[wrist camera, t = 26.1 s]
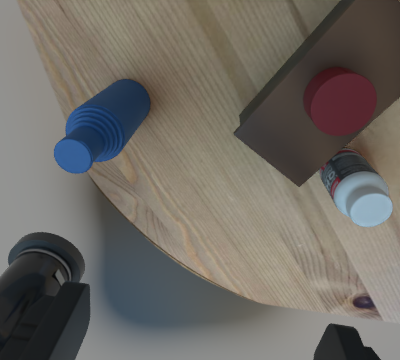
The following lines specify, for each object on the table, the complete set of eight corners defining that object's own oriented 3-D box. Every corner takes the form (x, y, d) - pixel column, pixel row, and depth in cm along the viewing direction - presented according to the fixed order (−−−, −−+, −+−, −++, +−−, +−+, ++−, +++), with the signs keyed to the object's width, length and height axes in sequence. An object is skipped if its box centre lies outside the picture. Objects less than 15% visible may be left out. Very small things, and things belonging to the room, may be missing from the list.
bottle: (134, 131, 40) (85, 199, 26) (98, 105, 39) (26, 160, 25) (159, 98, 38) (120, 152, 24) (121, 69, 37) (56, 108, 23)
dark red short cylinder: (306, 66, 29) (315, 72, 26) (368, 65, 29) (384, 72, 26) (299, 124, 32) (306, 136, 29) (356, 124, 31) (369, 136, 28)
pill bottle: (313, 156, 40) (337, 197, 31) (358, 140, 39) (396, 178, 30) (324, 192, 42) (350, 239, 34) (367, 178, 41) (405, 223, 32)
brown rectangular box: (288, 161, 41) (299, 187, 35) (232, 115, 38) (233, 134, 33) (408, 46, 34) (447, 54, 28) (348, -19, 32) (376, -24, 26)
